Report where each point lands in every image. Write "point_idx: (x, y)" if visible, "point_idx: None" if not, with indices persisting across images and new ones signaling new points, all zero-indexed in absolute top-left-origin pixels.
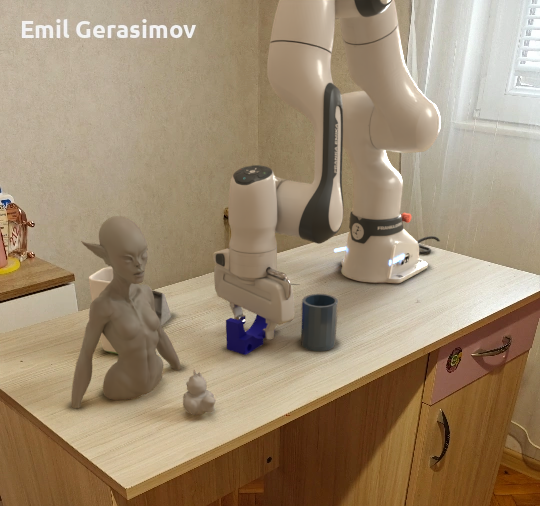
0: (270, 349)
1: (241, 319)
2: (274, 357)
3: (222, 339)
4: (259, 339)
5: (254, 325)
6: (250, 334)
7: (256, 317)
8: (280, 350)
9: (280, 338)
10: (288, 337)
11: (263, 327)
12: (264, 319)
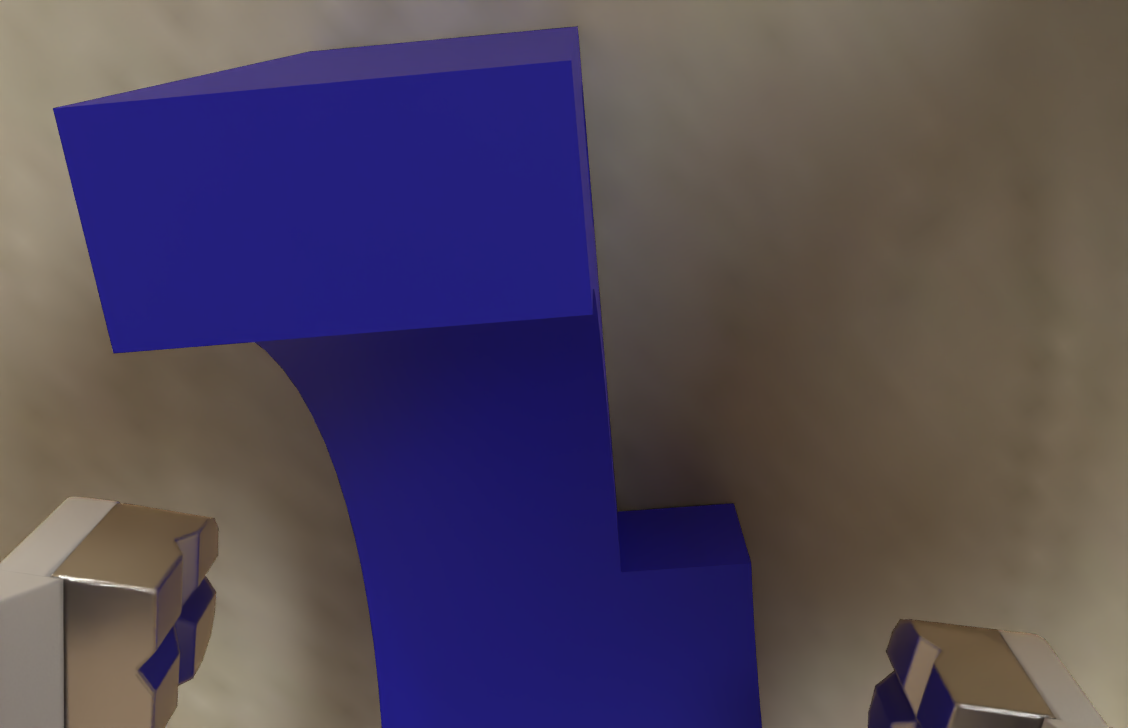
0: (921, 556)
1: (165, 639)
2: (1113, 698)
3: (170, 723)
4: (756, 663)
5: (377, 426)
6: (513, 617)
7: (282, 347)
8: (1068, 493)
9: (816, 155)
10: (909, 24)
11: (578, 396)
12: (498, 325)
